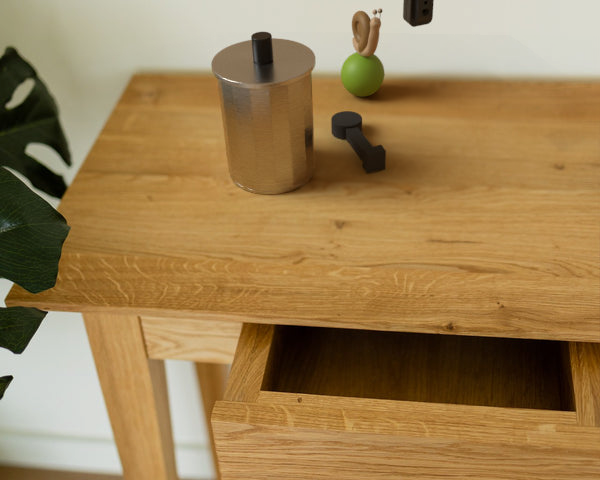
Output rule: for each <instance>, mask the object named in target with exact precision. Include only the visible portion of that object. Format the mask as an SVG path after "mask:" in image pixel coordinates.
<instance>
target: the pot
mask: <svg viewBox="0 0 600 480" xmlns="http://www.w3.org/2000/svg"><path fill="white" fill-rule="evenodd" d="M312 77H313V76H312V72H311V73H310V74H308V75H307V76H306V77H304V78H303V79H301V80H299V81H296V82H294V83H291V84H288V85H284V86H280V87H274V88H264V89H250V88H241V87H236V86H232V85H229V84H226V83H224V82H222V81H220V80H219V79H218V78H216V79H217V87H218V95H219V103H220V111H221V112H220V113H221V120H222V128H223V129H222V130H223V137H224V143H225V151H226V160H227V168H228V173H229V177H230V179H231V181H232V183H234V185H235V186H237V187H238V188H239V189H240V190H244V191H245V192H248V193H252V194H257V195H279V194H286V193H289V192H291V191H295V190H297V189H299V188H301V187H303V186H305V185H306V184H307V183H309V181H310V180H311V179H312V177H313V176H314V173H315V163H316V161H315V136H314V135H315V134H314V133H315V131H314V107H313V105H314V103H313V78H312Z"/></svg>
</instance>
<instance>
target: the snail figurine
mask: <svg viewBox="0 0 600 480" xmlns="http://www.w3.org/2000/svg"><path fill="white" fill-rule="evenodd" d="M382 13H383V8H381V7H380V8H378V9H373V10H372V14H373V15H374V16H373V17H372V18H370V16H369V15H368V13H367V12H366V11H363V10H358V11H356V12H355V13H354V14H353V16H352V18H351V31H352V35H353V37H352V40H351V41H352V45H353V48H354V50H355V52H353V53H352V54H349V56H348V57H347V58H346V59H345V60H344V61H343V64H342V66H341V69H340V80H341V84H342V85H343V87H344V88H345V90H346V91H347V92H348V93H350V94H351V95H353V96H355V97H360V98H361V97H362V98H363V97H368V96H369V97H370V96H371V95H374V94H375V93H376V92H377V91H379V89H380V88H381V86H382V85H383V83H384V80H385V68H384V65H383V64H384V63H383V62H382V60H381V59H380V58H379V57H378V56H377V55H376V54H375V53H376V51H377V48H378V44H379V40H380V30H381V27H382V21H381V18H380V17H377V16H376V15H377V14H379V16H382V15H381V14H382Z"/></svg>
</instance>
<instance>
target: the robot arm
mask: <svg viewBox="0 0 600 480" xmlns="http://www.w3.org/2000/svg"><path fill="white" fill-rule="evenodd" d="M434 2H435V1H434V0H403V4H402V9H403V10H402V19H403V20H404V21H405V22H406V23H407V24H409V26H411V27H413V28H415V27H420V26H424V25H429V24H430V23H431V22H432V21H433V16H434Z"/></svg>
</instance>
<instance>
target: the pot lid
mask: <svg viewBox="0 0 600 480" xmlns="http://www.w3.org/2000/svg"><path fill="white" fill-rule="evenodd" d="M210 67H211V72H212V74H213V75H214V77H215V78H216V79H217V78H218V79H219V80H220V81H222V82H224V83H226V84H229V85H232V86H236V87H241V88H250V89H264V88H274V87H280V86H284V85H288V84H291V83H294V82H296V81H299V80H301V79H303V78H304V77H306V76H307V75H308V74H310V73H312V72H313V70H314V69H315V67H316V54H315V53H314V51H313V50H312V49H311V48H310V47H309V46H308V45H305V44H303V43H301V42H298V41H294V40H290V39H286V38H273V35H272V33H270V32H268V31H256V32H254V33H253V34H251V38H250V39H247V40H243V41H239V42H236V43H233V44H231V45H229V46H226V47H224V48H223V49H221V50H220V51H218V52H217V53H216V54H215V55H214V56H213V58H212V60H211V66H210Z"/></svg>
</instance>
